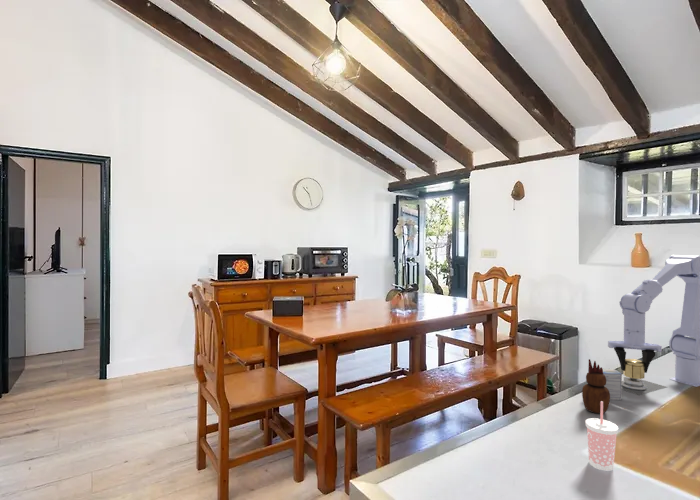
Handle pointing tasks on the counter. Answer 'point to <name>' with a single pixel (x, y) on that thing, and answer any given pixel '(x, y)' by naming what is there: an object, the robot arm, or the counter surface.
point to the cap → (634, 369)
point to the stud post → (634, 384)
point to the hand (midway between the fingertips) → (633, 370)
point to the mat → (650, 388)
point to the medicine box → (613, 383)
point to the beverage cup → (601, 442)
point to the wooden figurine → (595, 390)
